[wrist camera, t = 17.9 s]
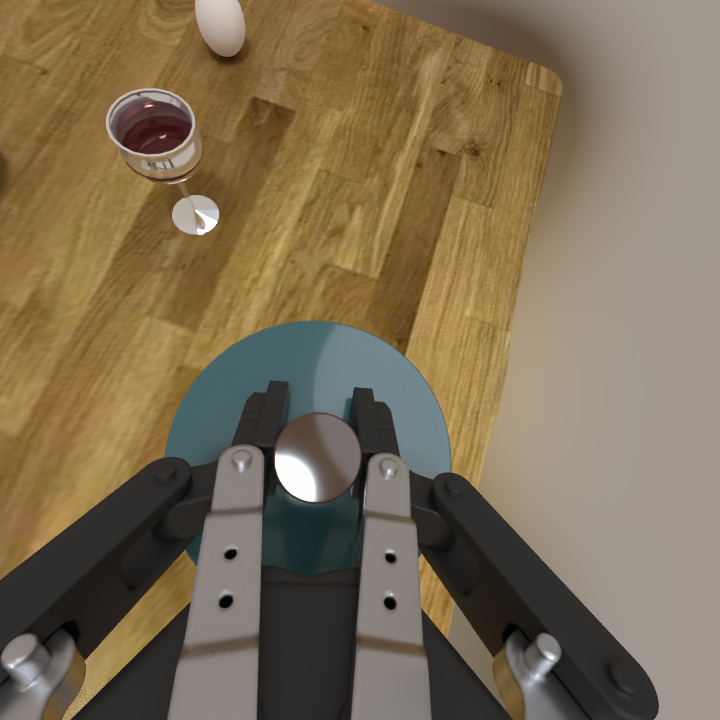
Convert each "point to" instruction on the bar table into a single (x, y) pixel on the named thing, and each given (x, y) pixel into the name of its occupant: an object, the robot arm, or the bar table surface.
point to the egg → (221, 25)
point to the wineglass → (163, 149)
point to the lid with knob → (311, 431)
